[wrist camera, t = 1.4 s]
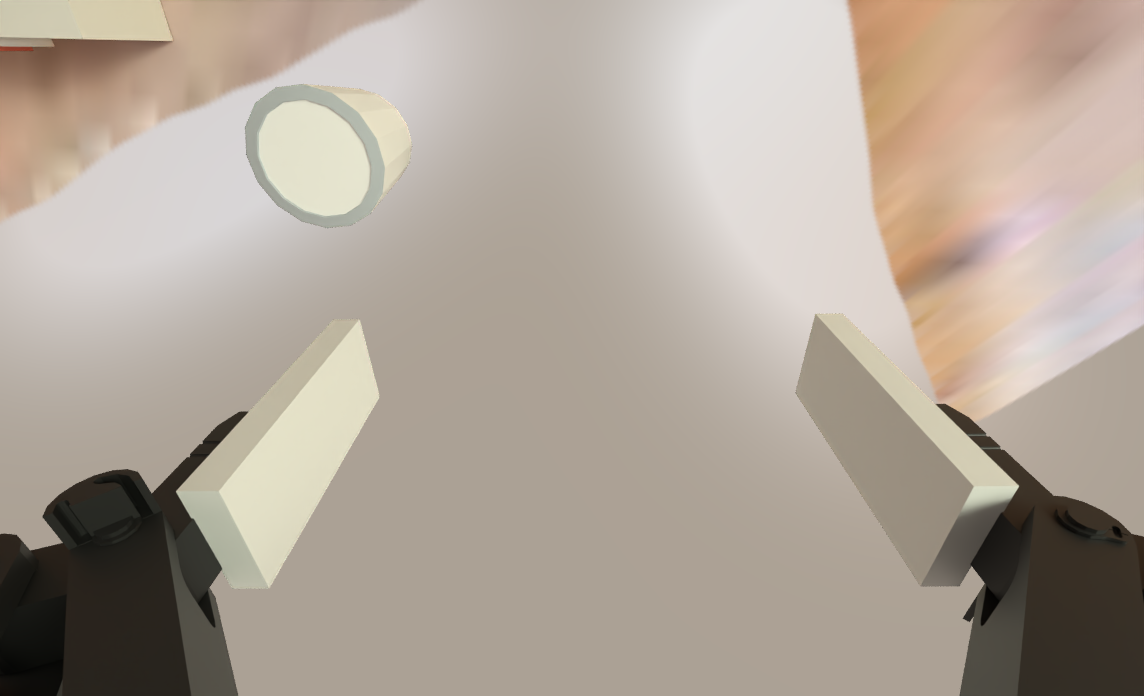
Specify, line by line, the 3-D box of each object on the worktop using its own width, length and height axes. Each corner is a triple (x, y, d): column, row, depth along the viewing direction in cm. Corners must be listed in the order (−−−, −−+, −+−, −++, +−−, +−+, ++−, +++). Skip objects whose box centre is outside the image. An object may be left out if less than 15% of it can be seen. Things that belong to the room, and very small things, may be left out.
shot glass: (298, 164, 32) (233, 191, 26) (323, 53, 29) (255, 54, 23) (402, 214, 33) (363, 250, 27) (437, 114, 30) (402, 129, 24)
